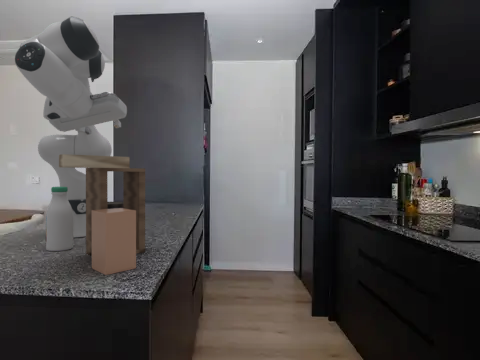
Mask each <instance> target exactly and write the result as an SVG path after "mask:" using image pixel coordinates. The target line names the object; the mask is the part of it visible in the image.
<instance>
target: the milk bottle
mask: <svg viewBox="0 0 480 360" xmlns="http://www.w3.org/2000/svg"><path fill="white" fill-rule="evenodd" d="M50 190H51V195H52V196H51V199H50V203H49V204H48V206H47V209H46V212H45V249H46V251H49V252H60V251H68V250H71V249H73V248H74V237H73V211H72V207H71V205H70V203H69V201H68V198H67V191H68V188H67V187H60V186H52V187H51V188H50Z"/></svg>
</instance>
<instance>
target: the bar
mask: <svg viewBox="0 0 480 360" xmlns="http://www.w3.org/2000/svg"><path fill="white" fill-rule="evenodd" d="M59 167H64V168H75V169H77V168H79V169H80V168H81V169H82V168H83V169H84V168H85V169H86V168H131V167H130V156H119V155H118V156H116V155H115V156H114V155H111V156H94V155H70V154H61V155H59Z"/></svg>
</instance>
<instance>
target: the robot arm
mask: <svg viewBox="0 0 480 360" xmlns="http://www.w3.org/2000/svg"><path fill="white" fill-rule="evenodd" d="M14 63H15V66H16V68H17V69H18V70H19V72H20V73H21V74H22V76H23V77H24V78H25V79H26V81H28V82H29V84H30V85H31V86H33V88H35V90H36V91H37V92H39V93H40V94H41V95H43V96H45V97H46V98H45V101H44V104H43V118H44V119H45V120H47V121H48V122H49V124H50V125H51V126H53V127H54V129H56V130H58V131H60V132H63V133H65V132H70V131H74V130H75V131H77V134H52V135H51V134H50V135H44V136H43V137H41V139H40V140H39V142H38V145H37V151H38V155H39V156H40V157H41V160H43V161H44V162H46V163H48V164H49V165H50V166H51V168H52V169H53V170H54V171H55V173H56V175H57V177H58V181H59V187H67V188H68V191H67V198H68V201H69V203H70V205H71V207H72V211H73V238H82V237H86V173H85V172H84V173H83V172H82V171H80V170H77V168H64V167H59V155H61V154H70V155H94V156H112V150H113V149H112V145H111V143H110V141H109V140H108V139H107V138H106V137H105V136H104V135H102V134H101V133H100V132H99V131H98V129H97V128H96V126H95V125H99V124H103V123H108V122H109V123H110V122H112V121H113V127H114V128H115V129H119V128H122V122H121V121H120V120H121V119H125V118H126V117H127V113H128V107H127V105H126V104H125V102H124V101H122V99H120V98H119V97H118V95H117V94H115V93H112V92H108V91H104V92H100V93H95V94H93V93H92V92H91V85H90V82H89V81H90V80H91V83H94V82H95V80H97V79H99V78H100V77H102V75H103V73H104V70H105V68H106V67H105V66H106V64H105V63H106V62H105V59H104V56H103V53H102V52H101V51H100V45H99V40H98V37H97V36H96V33H95V31H94V30H93V29H92V27H91V26H90V25H89V24H88V23H87V22H86V21H84V19H82V18H79V17H76V16H69V17H68V18H65V19H64V20H63V21H55V22H53V23H50V24H48V25H47V26H46V27H45V28H44V29H43V31H42V32H40V33H38V34H36V35H33V36H32V37H30V38H28V39H26V40H25V41H23V42H22V43H20V45H19V49H17V51H16V53H15V55H14ZM89 79H90V80H89Z"/></svg>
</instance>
